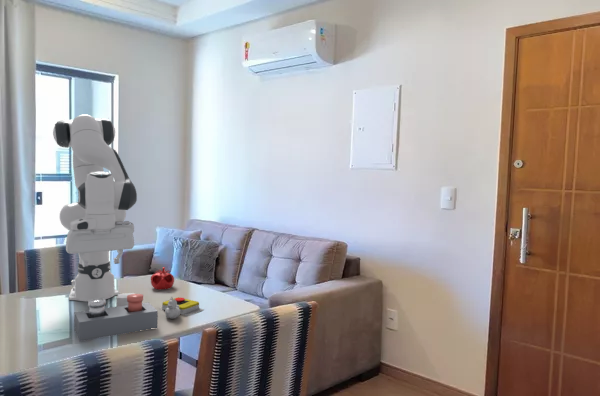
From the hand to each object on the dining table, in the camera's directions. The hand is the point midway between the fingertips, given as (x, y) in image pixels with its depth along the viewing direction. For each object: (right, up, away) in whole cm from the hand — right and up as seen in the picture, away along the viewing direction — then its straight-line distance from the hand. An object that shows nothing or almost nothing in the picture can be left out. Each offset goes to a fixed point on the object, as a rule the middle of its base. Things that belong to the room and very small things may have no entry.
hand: (101, 265), depth 152 cm
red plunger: (+8, -16, +7) cm, 20 cm away
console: (+3, -22, +5) cm, 23 cm away
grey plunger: (-2, -17, +1) cm, 17 cm away
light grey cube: (-1, -21, +24) cm, 31 cm away
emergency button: (+19, -22, +27) cm, 40 cm away
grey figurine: (+18, -22, +18) cm, 34 cm away
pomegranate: (+4, -18, +56) cm, 59 cm away
